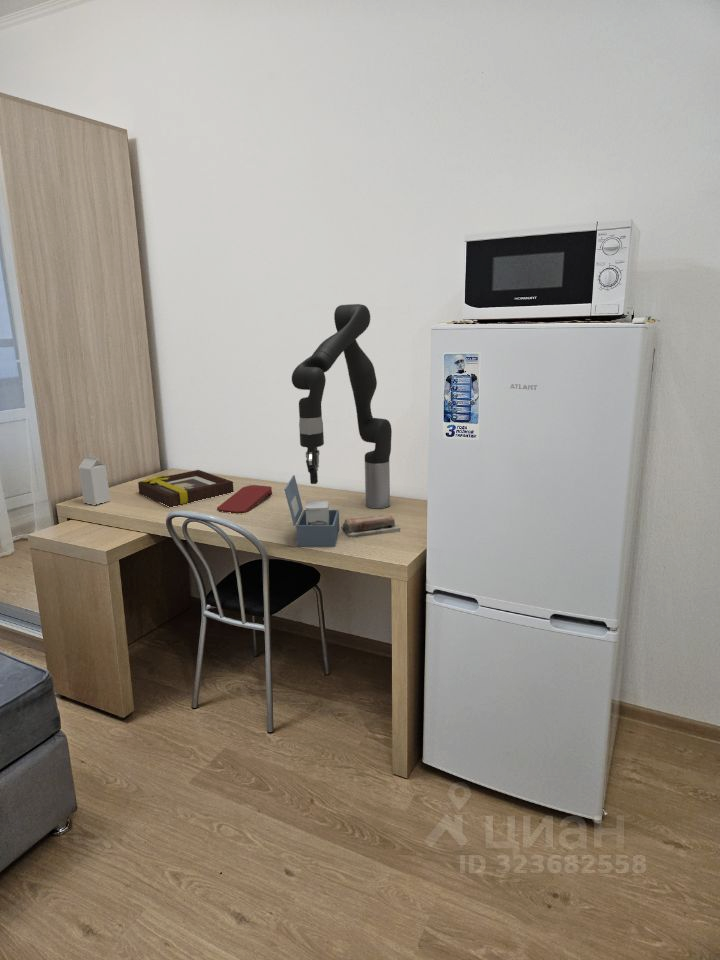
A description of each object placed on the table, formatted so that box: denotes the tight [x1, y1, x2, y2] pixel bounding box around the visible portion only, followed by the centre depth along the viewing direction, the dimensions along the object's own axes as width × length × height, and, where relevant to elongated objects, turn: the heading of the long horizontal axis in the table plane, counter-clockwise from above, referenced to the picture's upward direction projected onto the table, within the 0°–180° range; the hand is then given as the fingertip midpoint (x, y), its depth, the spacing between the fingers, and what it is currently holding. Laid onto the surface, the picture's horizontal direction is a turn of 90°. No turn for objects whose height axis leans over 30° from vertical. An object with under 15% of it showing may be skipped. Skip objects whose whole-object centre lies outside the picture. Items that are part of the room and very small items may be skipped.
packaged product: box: [341, 514, 401, 539], centre depth 215 cm, size 18×5×10 cm
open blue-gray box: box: [295, 509, 341, 548], centre depth 209 cm, size 16×12×7 cm
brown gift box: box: [137, 469, 235, 508], centre depth 263 cm, size 28×7×30 cm
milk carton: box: [78, 455, 111, 506], centre depth 251 cm, size 7×7×19 cm
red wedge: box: [216, 484, 273, 514], centre depth 248 cm, size 12×5×25 cm
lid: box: [283, 475, 304, 527], centre depth 207 cm, size 16×12×1 cm
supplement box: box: [305, 500, 330, 525], centre depth 205 cm, size 7×7×13 cm
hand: (314, 483), depth 206 cm, fingers closed
